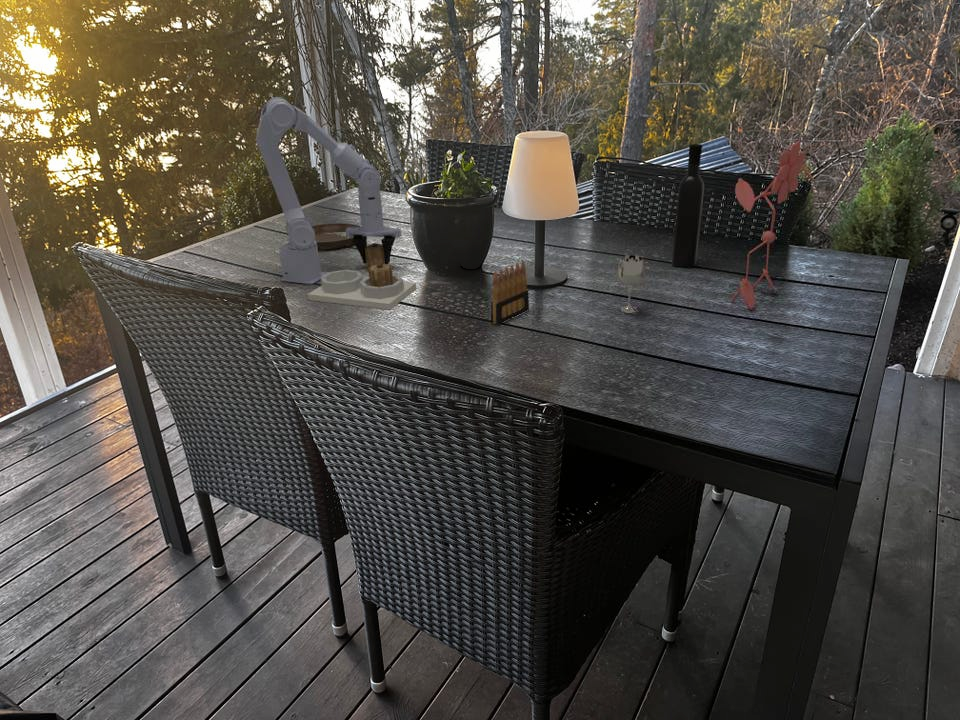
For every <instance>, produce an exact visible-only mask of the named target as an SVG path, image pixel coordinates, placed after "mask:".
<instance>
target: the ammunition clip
mask: <svg viewBox="0 0 960 720" xmlns="http://www.w3.org/2000/svg"><path fill="white" fill-rule="evenodd" d="M526 270H527V269H526V263H525V261H524V260H522V261H521V263H520V264H519V262H517V263H516V264H515V268H514V265H513V264H511V265H510V267H509V268H508V266H506V267H505V268H504V271H503V269H502V268H500V269H499V272H498V273H497V271H494V272H493V277H492V291H491V296H492V298H491V299H492V301H490V323H493V324H492V325H494V324H495V326H497V325H498V326H500V325H501V324H500V323H502V322H504V321H506V320H508V319H511V318H512V317H515V316H517V315H519V314H521V313H523V312H525V311H527V310H529V311H530V305H529V304H530V301H529V300H530V299H529V290H528V285H527V284H528V281H527V280H528V279H527V273H526ZM523 314H524V313H523ZM521 315H522V314H521ZM519 316H520V315H519ZM517 317H518V316H517ZM515 318H516V317H515ZM511 320H512V319H511ZM506 322H507V321H506ZM504 323H505V322H504ZM499 324H500V325H499ZM502 324H503V323H502Z"/></svg>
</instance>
